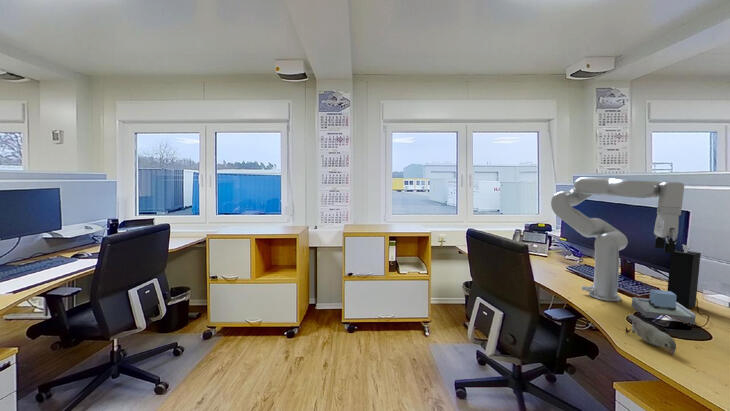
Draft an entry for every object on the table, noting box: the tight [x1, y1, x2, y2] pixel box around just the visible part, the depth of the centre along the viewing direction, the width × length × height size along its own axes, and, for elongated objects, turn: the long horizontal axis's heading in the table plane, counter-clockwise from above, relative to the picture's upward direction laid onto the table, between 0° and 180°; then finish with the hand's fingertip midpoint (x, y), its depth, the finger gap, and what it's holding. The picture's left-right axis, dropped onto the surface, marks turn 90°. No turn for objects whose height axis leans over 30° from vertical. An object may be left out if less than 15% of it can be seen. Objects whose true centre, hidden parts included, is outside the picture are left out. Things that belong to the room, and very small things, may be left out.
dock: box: [631, 296, 697, 326], centre depth 140 cm, size 16×14×4 cm
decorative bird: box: [625, 313, 677, 356], centre depth 115 cm, size 5×16×8 cm, turn 8°
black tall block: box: [666, 243, 702, 310], centre depth 150 cm, size 8×8×28 cm
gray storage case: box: [648, 288, 677, 311], centre depth 139 cm, size 8×5×7 cm, turn 69°
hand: (664, 250), depth 141 cm, fingers open, 9 cm apart
